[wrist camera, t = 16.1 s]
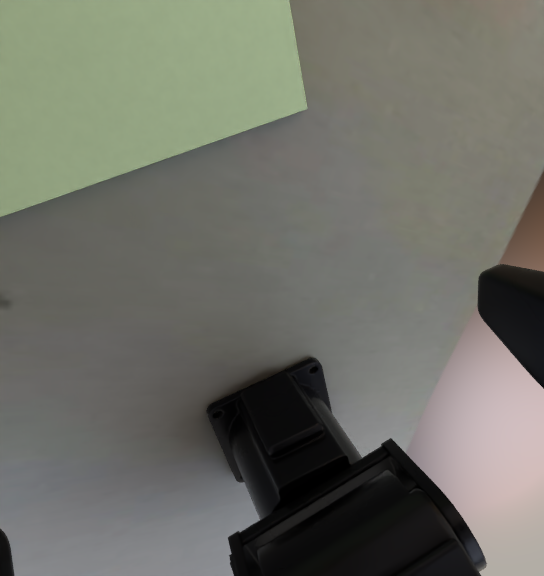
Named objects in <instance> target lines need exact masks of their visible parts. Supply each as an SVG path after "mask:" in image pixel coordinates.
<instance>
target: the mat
mask: <svg viewBox="0 0 544 576" xmlns="http://www.w3.org/2000/svg"><path fill="white" fill-rule="evenodd" d="M306 109H307V104H306V98H305V92H304V86H303V80H302V74H301V68H300V62H299V56H298V50H297V44H296V38H295V32H294V27H293V21H292V15H291V9H290V3H289V0H0V217H2V216H5V215H8V214H11V213H14V212H16V211H19V210H22V209H25V208H28V207H31V206H34V205H36V204H39V203H42V202H45V201H48V200H51V199H53V198H56V197H59V196H62V195H65V194H68V193H70V192H73V191H76V190H79V189H82V188H85V187H87V186H90V185H93V184H96V183H99V182H102V181H104V180H107V179H110V178H113V177H116V176H119V175H121V174H124V173H127V172H130V171H133V170H136V169H138V168H141V167H144V166H147V165H150V164H153V163H156V162H158V161H161V160H164V159H167V158H170V157H173V156H175V155H178V154H181V153H184V152H187V151H190V150H192V149H195V148H198V147H201V146H204V145H207V144H209V143H212V142H215V141H218V140H221V139H224V138H226V137H229V136H232V135H235V134H238V133H241V132H243V131H246V130H249V129H252V128H255V127H258V126H261V125H263V124H266V123H269V122H272V121H275V120H278V119H280V118H283V117H286V116H289V115H292V114H295V113H297V112H300V111H303V110H306Z"/></svg>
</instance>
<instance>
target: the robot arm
mask: <svg viewBox="0 0 544 576" xmlns="http://www.w3.org/2000/svg"><path fill="white" fill-rule="evenodd" d="M478 311H479V314H480V316H481V317H482V319H483V320H484V322H485V323H486V324H487V325H488V326H489V327H490V328H491V330H492V331H493V332H494V333H495V334H496V335H497V337H498V338H499V339H500V340H501V341H502V342H503V344H504V345H505V346H506V347H507V348H508V349H509V350H510V352H511V353H512V354H513V355H514V356H515V358H517V360H518V361H519V362H520V363H521V365H522V366H523V367H524V368H525V369H526V370H527V371H528V372H529V373H530V375H531V376H532V377H533V378H534V379H535V380H536V381H537V382H538V383H539V384H540V385H541V386H542V387H543V388H544V272H542V271H537V270H532V269H526V268H521V267H516V266H510V265H504V264H500V265H496V266H494V267H492V268H490V269H488V270H485V271H483V272H482V273H481V274H480V276H479V280H478ZM312 367H313V368H312ZM310 368H312V369H310ZM217 411H219V412H217ZM215 412H217V413H215ZM207 415H208V417H209V420H210V422H211V424H212V427H213V429H214V431H215V433H216V436H217V438H218V440H219V443H220V445H221V447H222V449H223V452H224V454H225V456H226V458H227V461H228V463H229V465H230V467H231V470H232V472H233V474H234V476H235V479H236V480H237V482H245V484H246V487H247V489H248V492H249V494H250V496H251V499H252V501H253V504H254V506H255V508H256V511H257V513H258V515H259V518H260V521H258V522H256V523H255V524H253V525H251V526H250V527H248V528H246V529H245V530H243V531H242V532H239V531H238V532H236V533H234V534H233V535H231V536H229V537H228V540H229V545H230V549H231V553H232V554H231V555H229V556H230V561H231V562H230V565H231V568H232V571H233V574H234V576H481V575H480V573H479V571H481V570H482V569H484V568H485V567H486V561H485V557H484V555H483V553H482V550H481V548H480V546H479V544H478V542H477V541H476V539H475V537H474V536H473V534H472V533H471V531H470V529H469V527H468V526H467V524H466V523H465V521H464V520H463V518H462V517H461V515H460V514H459V512H458V511H457V510H456V508H455V507H454V505H453V504H452V503H451V502H450V501H449V499H448V498H447V497H446V496H445V494H444V493H443V492H442V491H441V490H440V489H439V488H438V487H437V486H436V484H434V482H433V481H432V480H431V479H430V478H429V477H428V476H427V475H426V474H425V473H424V472H423V471H422V470H421V469H420V468H419V467H418V466H417V465H416V464H415V463H414V462H413V461H412V460H411V459H410V458H409V456H407V454H406V453H405V452H404V451H403V450H402V449H401V448H400V447H399V446H398V445H397V444H396V443H395V442H394V441H393V440H392V439H391V438H390V439H389V440H387V441H385V442H384V443H382V444H381V447H379V448H378V449H376V450H374V451H373V452H371V453H369V454H368V455H366V456H365V457H363V458H362V457H361V455H360V454H359V452H358V451H357V449H356V448H355V446H354V445H353V444H352V442H351V441H350V439H349V438H348V436H347V435H346V433H345V432H344V430H343V429H342V428H341V426H340V425H339V423H338V422H337V420H336V419H335V417H334V416H333V414H332V411H331V406H330V402H329V397H328V392H327V388H326V383H325V379H324V374H323V369H322V366H321V364H320V363H319V361H318V360H317V359H315V358H311V359H308V360H306V361H303V362H301V363H299V364H297V365H295V366H293V367H290V368H288V369H286V370H284V371H282V372H280V373H277V374H275V375H273V376H271V377H269V378H267V379H264V380H262V381H260V382H258V383H256V384H254V385H251V386H249V387H247V388H245V389H243V390H241V391H238V392H236V393H234V394H232V395H230V396H227V397H225V398H223V399H221V400H219V401H217V402H214V403H213V404H211V405H210V406H209V407H208V408H207ZM0 576H14V569H13V562H12V555H11V548H10V544H9V541H8V538H7V536H6V535H5V533H4V532H3V531H2V530H1V529H0Z"/></svg>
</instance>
